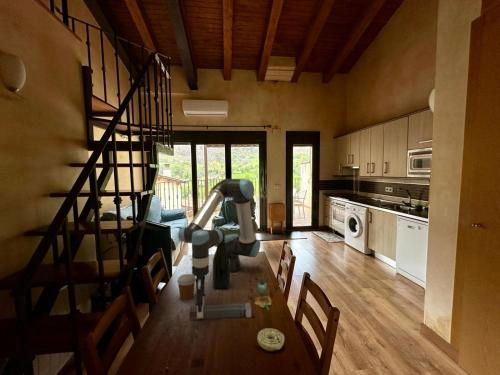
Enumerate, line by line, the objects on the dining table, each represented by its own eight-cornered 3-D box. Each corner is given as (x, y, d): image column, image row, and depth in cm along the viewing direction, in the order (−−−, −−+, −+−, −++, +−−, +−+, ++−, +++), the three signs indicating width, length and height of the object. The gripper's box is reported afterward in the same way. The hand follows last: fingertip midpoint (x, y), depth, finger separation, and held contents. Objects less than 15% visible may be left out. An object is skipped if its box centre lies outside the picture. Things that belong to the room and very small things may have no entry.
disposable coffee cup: (174, 299, 128) (173, 277, 127) (189, 293, 135) (189, 272, 134) (184, 306, 122) (183, 283, 121) (199, 299, 129) (199, 277, 128)
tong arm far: (191, 313, 114) (190, 306, 114) (244, 309, 117) (244, 302, 117) (190, 316, 112) (190, 309, 112) (244, 312, 115) (244, 305, 115)
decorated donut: (284, 355, 91) (284, 345, 91) (256, 352, 92) (256, 343, 92) (284, 335, 102) (284, 327, 101) (258, 333, 103) (258, 325, 102)
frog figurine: (253, 314, 116) (253, 282, 117) (252, 298, 134) (252, 271, 135) (273, 313, 117) (273, 282, 117) (269, 297, 135) (269, 270, 135)
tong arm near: (190, 316, 112) (190, 309, 112) (244, 313, 115) (244, 306, 114) (189, 319, 110) (189, 312, 109) (245, 316, 112) (245, 309, 112)
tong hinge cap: (244, 309, 118) (244, 302, 118) (249, 309, 118) (249, 302, 118) (246, 318, 111) (246, 310, 111) (251, 318, 112) (251, 310, 111)
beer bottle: (228, 281, 149) (228, 228, 146) (231, 290, 139) (231, 233, 136) (211, 283, 146) (211, 229, 143) (213, 292, 136) (213, 234, 133)
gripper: (194, 258, 119) (194, 303, 121) (189, 273, 101) (189, 326, 103) (209, 257, 120) (209, 302, 122) (207, 273, 102) (207, 325, 104)
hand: (200, 313), depth 112 cm, fingers open, 5 cm apart
